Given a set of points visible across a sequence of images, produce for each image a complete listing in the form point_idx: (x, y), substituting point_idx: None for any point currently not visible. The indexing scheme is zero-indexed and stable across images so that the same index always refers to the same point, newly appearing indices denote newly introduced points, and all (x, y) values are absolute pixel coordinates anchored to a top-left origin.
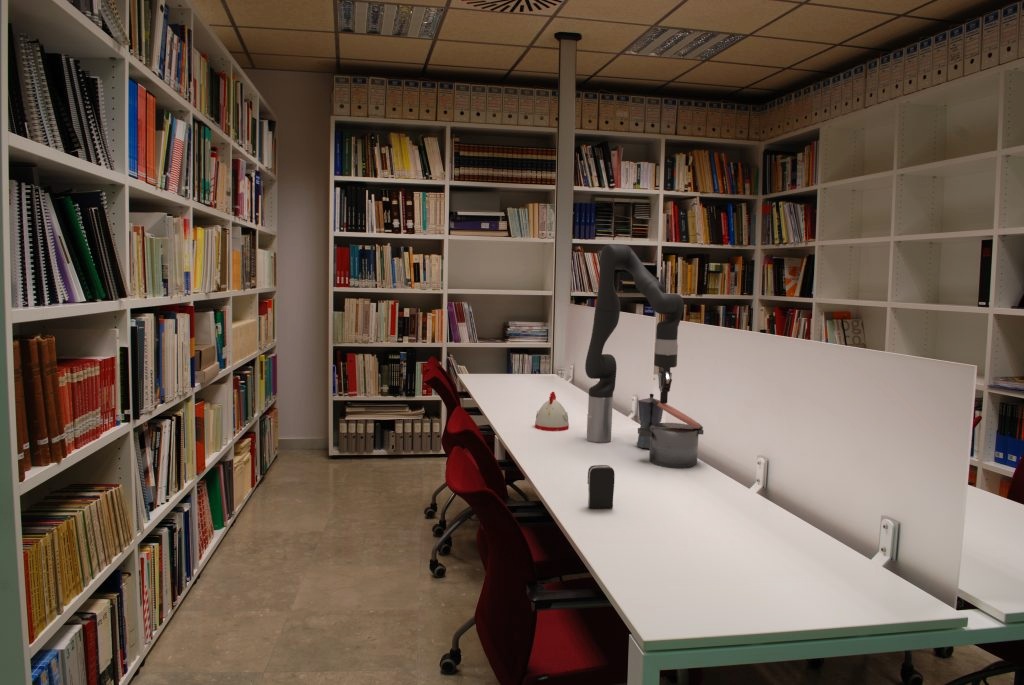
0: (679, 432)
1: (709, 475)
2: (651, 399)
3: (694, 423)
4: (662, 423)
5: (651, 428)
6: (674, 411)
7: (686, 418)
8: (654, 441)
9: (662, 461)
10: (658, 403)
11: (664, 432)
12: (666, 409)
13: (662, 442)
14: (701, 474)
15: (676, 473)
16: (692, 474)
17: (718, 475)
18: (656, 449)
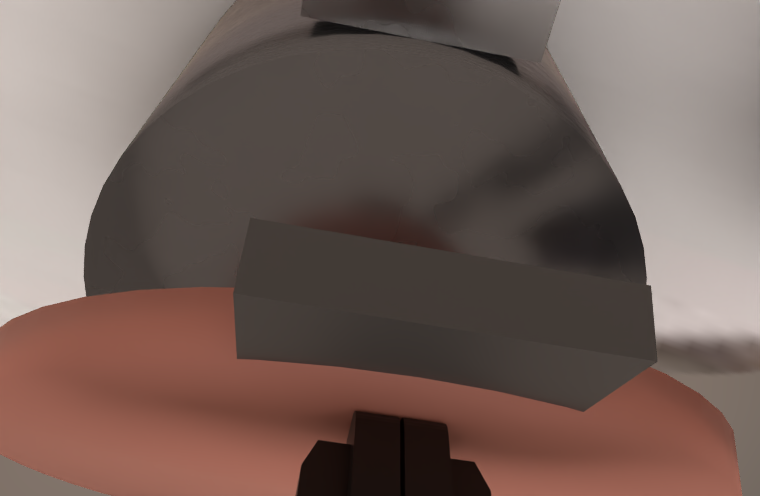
0: (94, 283)
1: (31, 253)
2: (403, 284)
3: (82, 486)
4: (605, 271)
5: (385, 45)
6: (148, 442)
7: (129, 477)
8: (291, 11)
9: (223, 17)
10: (227, 337)
11: (140, 134)
12: (16, 347)
13: (185, 71)
14: (45, 215)
15: (33, 48)
16: (31, 156)
17: (44, 303)
18: (263, 2)
